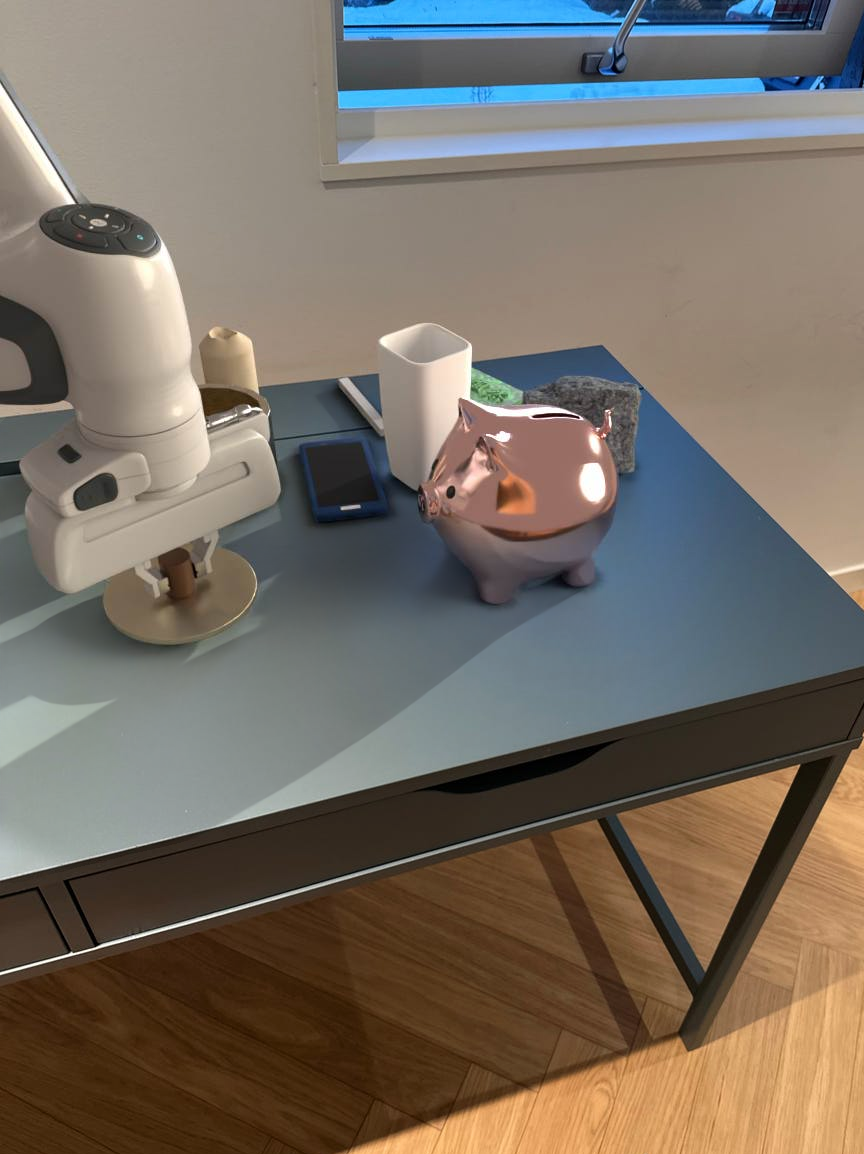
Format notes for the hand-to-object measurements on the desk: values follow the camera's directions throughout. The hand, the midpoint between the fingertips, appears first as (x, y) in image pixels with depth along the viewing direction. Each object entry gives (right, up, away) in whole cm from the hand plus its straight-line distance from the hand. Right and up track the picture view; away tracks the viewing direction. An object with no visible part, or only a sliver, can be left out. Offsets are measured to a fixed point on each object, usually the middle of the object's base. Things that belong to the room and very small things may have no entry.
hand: (179, 582), depth 80 cm
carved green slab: (+23, +21, +28) cm, 42 cm away
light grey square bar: (+12, +21, +28) cm, 37 cm away
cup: (+20, +12, +18) cm, 29 cm away
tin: (-1, +11, +15) cm, 19 cm away
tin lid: (0, -1, +1) cm, 1 cm away
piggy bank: (+29, +2, +8) cm, 30 cm away
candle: (-2, +20, +26) cm, 33 cm away
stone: (+36, +14, +21) cm, 44 cm away
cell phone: (+11, +11, +17) cm, 23 cm away
